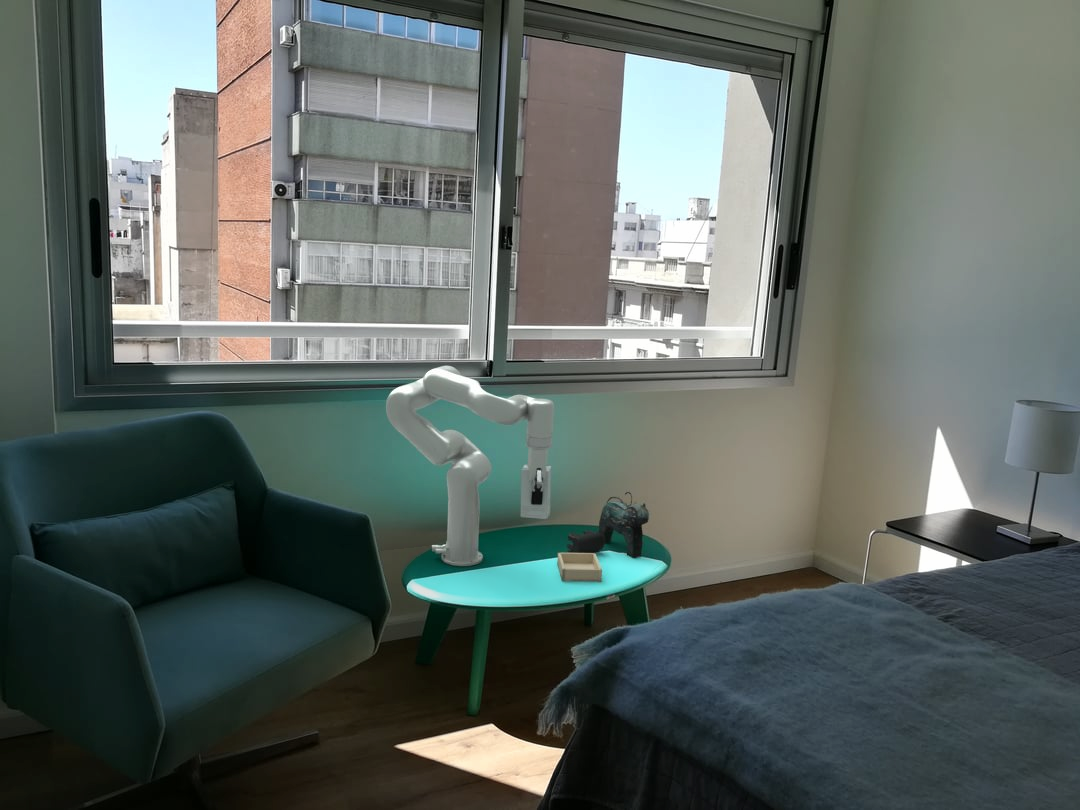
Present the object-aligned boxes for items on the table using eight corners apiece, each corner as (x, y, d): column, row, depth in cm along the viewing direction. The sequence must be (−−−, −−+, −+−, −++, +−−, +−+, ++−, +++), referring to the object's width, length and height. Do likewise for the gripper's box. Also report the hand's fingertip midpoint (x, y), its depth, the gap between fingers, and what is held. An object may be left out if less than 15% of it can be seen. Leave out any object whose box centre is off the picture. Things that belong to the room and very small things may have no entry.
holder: (562, 581, 250) (562, 569, 250) (557, 563, 264) (557, 552, 263) (601, 581, 251) (602, 570, 251) (594, 564, 265) (595, 553, 264)
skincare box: (550, 514, 255) (553, 465, 252) (546, 520, 249) (550, 470, 247) (522, 511, 256) (525, 463, 254) (518, 517, 250) (521, 467, 248)
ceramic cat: (647, 558, 272) (652, 497, 269) (631, 561, 269) (636, 500, 265) (607, 538, 288) (612, 481, 284) (592, 541, 285) (596, 483, 281)
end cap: (579, 560, 268) (580, 539, 266) (565, 552, 273) (566, 532, 272) (603, 554, 273) (605, 534, 272) (590, 547, 279) (591, 527, 278)
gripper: (524, 434, 257) (520, 491, 260) (528, 448, 240) (524, 509, 243) (549, 435, 257) (545, 492, 261) (554, 449, 240) (550, 510, 244)
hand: (535, 499), depth 252 cm, fingers closed on skincare box, 6 cm apart
